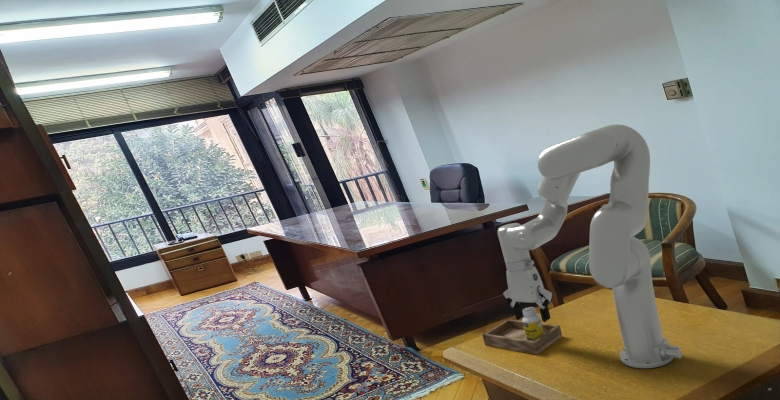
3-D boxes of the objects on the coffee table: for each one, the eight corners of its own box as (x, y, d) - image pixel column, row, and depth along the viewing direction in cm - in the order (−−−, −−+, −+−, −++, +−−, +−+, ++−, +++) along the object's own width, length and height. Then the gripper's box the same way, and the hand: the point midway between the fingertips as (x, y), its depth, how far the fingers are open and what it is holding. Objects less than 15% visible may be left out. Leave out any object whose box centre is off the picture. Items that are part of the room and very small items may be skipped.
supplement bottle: (523, 343, 160) (516, 312, 160) (531, 335, 164) (524, 305, 164) (540, 344, 157) (533, 312, 156) (548, 336, 161) (541, 305, 160)
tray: (562, 336, 161) (559, 325, 161) (537, 354, 153) (534, 343, 153) (510, 329, 177) (507, 319, 176) (484, 345, 169) (482, 334, 168)
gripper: (550, 260, 154) (564, 316, 155) (504, 261, 168) (517, 313, 169) (535, 268, 149) (550, 326, 150) (489, 269, 163) (503, 322, 164)
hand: (533, 319), depth 159 cm, fingers open, 9 cm apart
